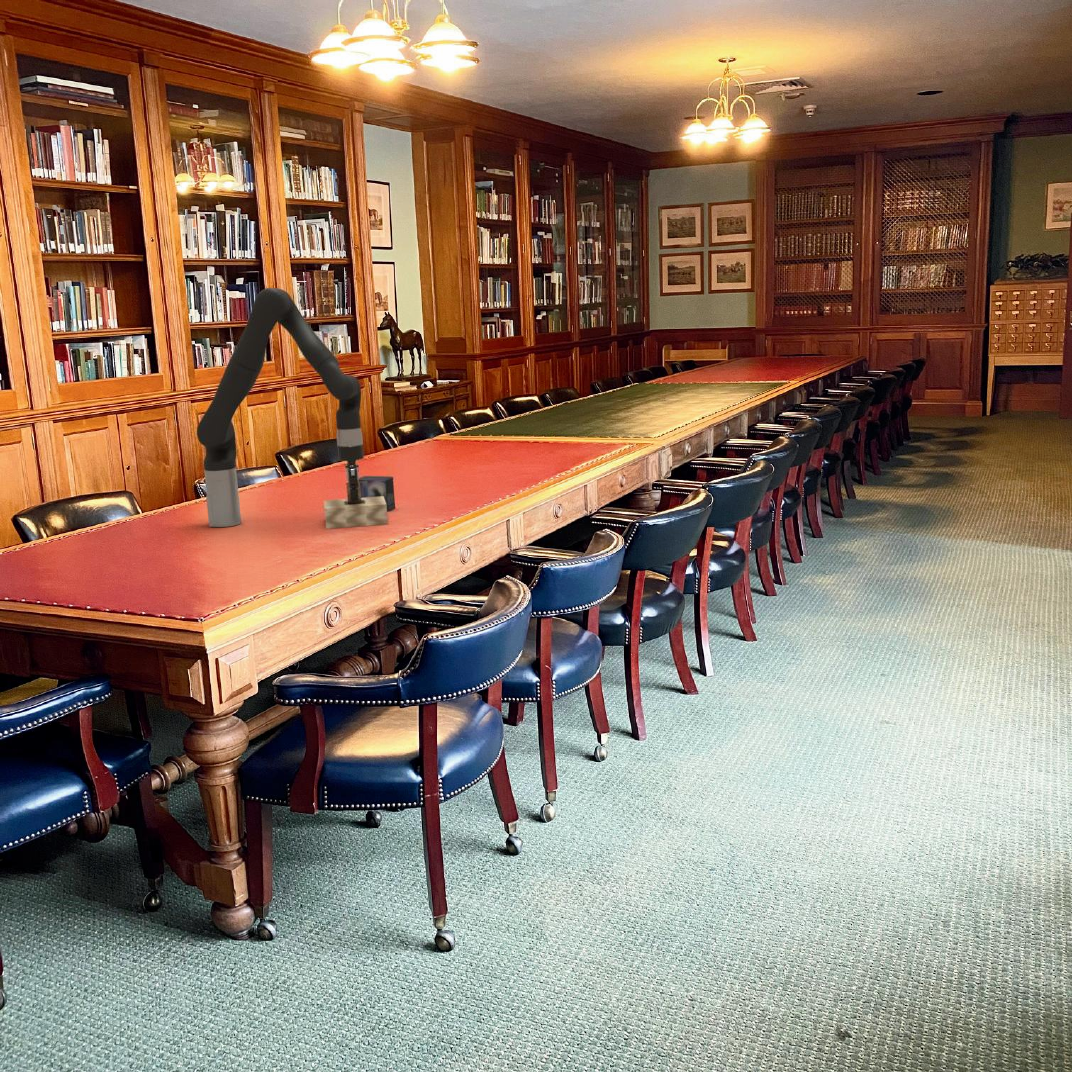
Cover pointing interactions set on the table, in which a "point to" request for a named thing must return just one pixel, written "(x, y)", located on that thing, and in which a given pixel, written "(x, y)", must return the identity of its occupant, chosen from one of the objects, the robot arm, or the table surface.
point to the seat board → (355, 513)
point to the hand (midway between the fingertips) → (354, 499)
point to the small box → (378, 489)
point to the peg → (350, 494)
